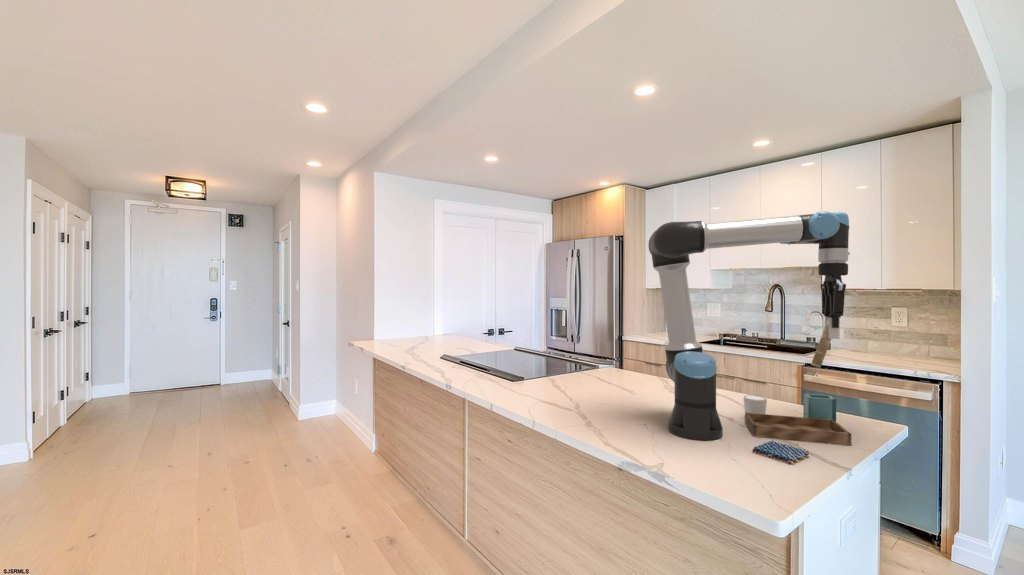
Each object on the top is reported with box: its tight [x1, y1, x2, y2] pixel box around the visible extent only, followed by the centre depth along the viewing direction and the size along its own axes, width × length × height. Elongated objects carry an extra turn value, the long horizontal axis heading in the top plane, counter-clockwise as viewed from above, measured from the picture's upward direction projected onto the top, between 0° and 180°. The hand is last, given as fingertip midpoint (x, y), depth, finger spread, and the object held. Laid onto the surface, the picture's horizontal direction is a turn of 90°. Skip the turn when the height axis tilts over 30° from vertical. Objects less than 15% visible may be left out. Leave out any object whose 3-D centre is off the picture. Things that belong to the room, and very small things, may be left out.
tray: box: [744, 412, 852, 447], centre depth 131 cm, size 24×14×3 cm, turn 71°
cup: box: [803, 393, 837, 422], centre depth 140 cm, size 7×6×9 cm
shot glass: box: [743, 395, 768, 414], centre depth 146 cm, size 7×7×7 cm
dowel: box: [810, 318, 832, 368], centre depth 138 cm, size 7×3×18 cm, turn 72°
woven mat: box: [751, 439, 811, 465], centre depth 115 cm, size 10×11×2 cm
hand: (831, 337), depth 137 cm, fingers closed on dowel, 2 cm apart
